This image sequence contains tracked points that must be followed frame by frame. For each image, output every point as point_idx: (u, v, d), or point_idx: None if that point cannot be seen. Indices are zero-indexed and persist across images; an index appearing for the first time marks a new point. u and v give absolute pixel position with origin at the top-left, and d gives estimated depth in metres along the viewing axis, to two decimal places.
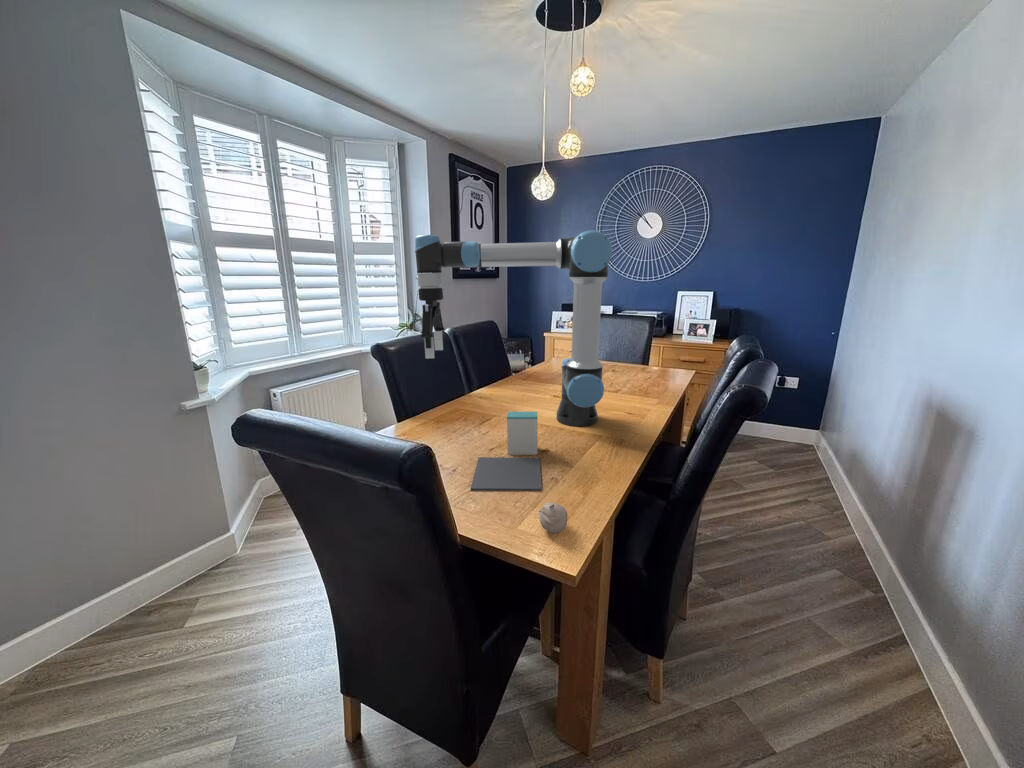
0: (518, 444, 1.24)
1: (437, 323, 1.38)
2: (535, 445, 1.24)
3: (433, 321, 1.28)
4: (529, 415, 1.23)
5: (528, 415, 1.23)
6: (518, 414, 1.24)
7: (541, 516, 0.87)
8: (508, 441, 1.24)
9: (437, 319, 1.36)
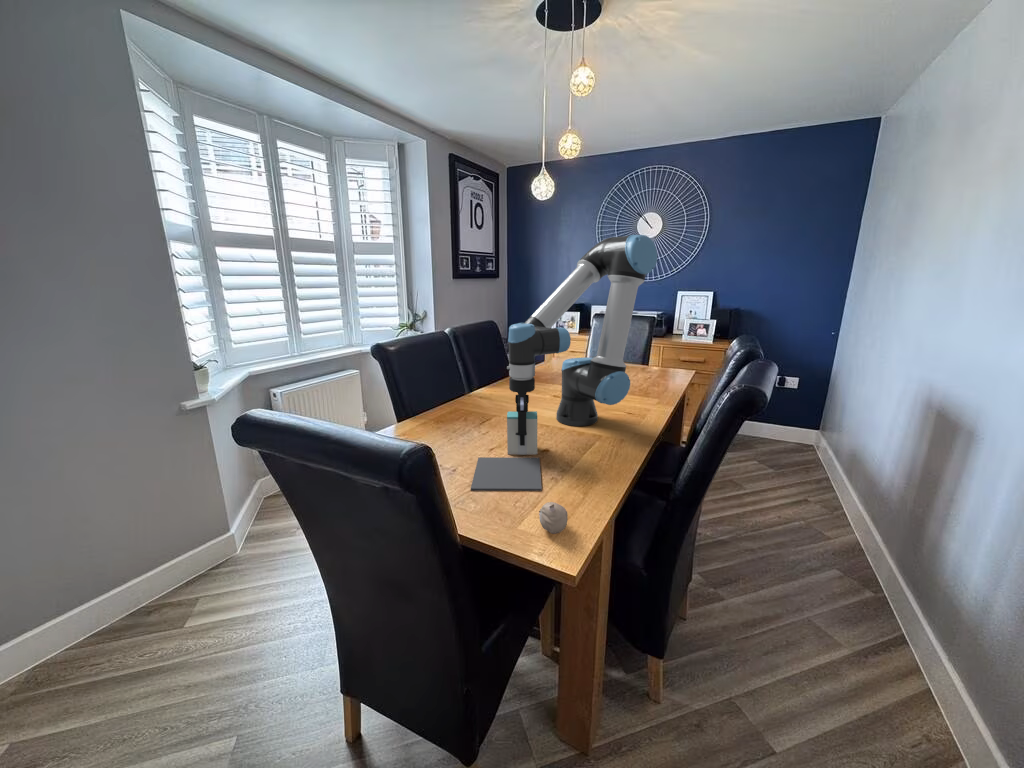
0: None
1: None
2: (535, 445, 1.24)
3: None
4: (529, 415, 1.23)
5: (528, 415, 1.23)
6: None
7: (541, 516, 0.87)
8: (508, 441, 1.24)
9: None
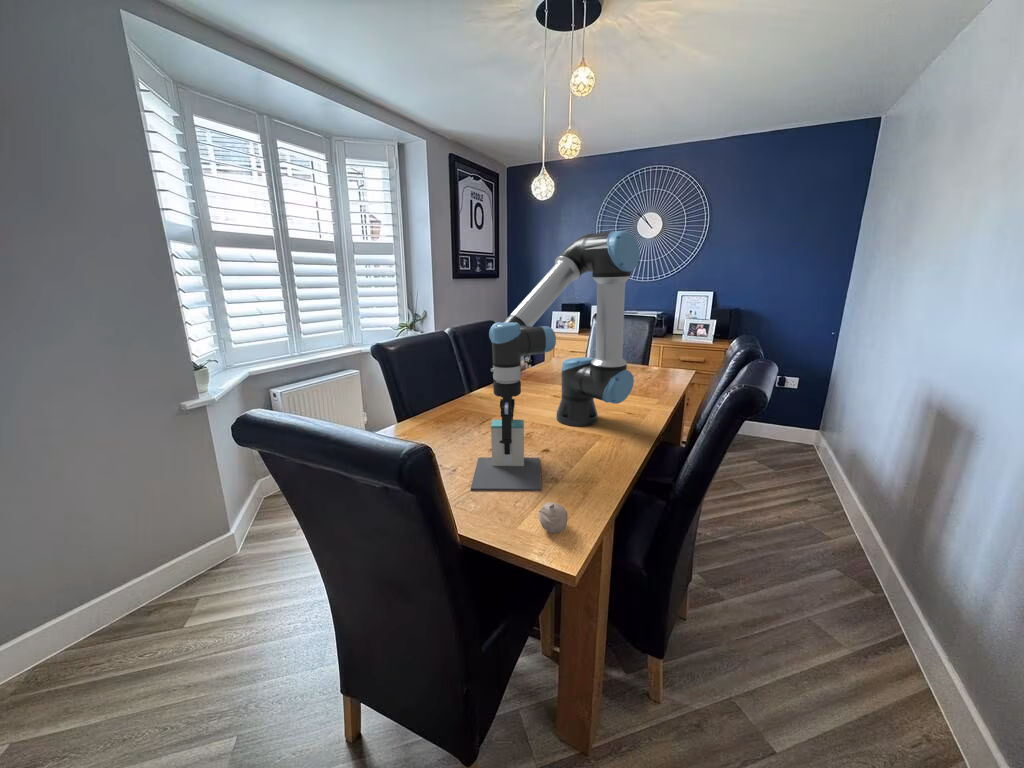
0: None
1: None
2: (521, 456, 1.16)
3: (511, 421, 1.12)
4: (515, 424, 1.15)
5: (514, 424, 1.15)
6: None
7: (541, 516, 0.87)
8: (492, 452, 1.15)
9: None
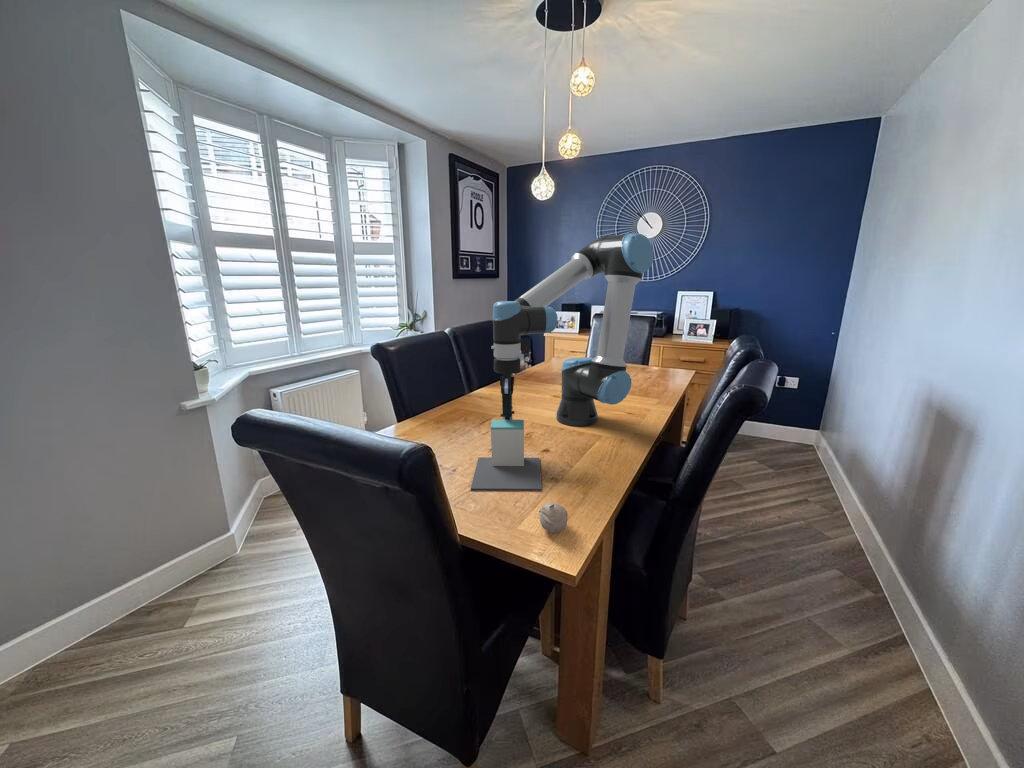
0: (503, 456, 1.15)
1: None
2: (521, 456, 1.15)
3: None
4: (515, 425, 1.14)
5: (514, 425, 1.14)
6: (503, 423, 1.15)
7: (541, 516, 0.87)
8: (492, 452, 1.15)
9: None
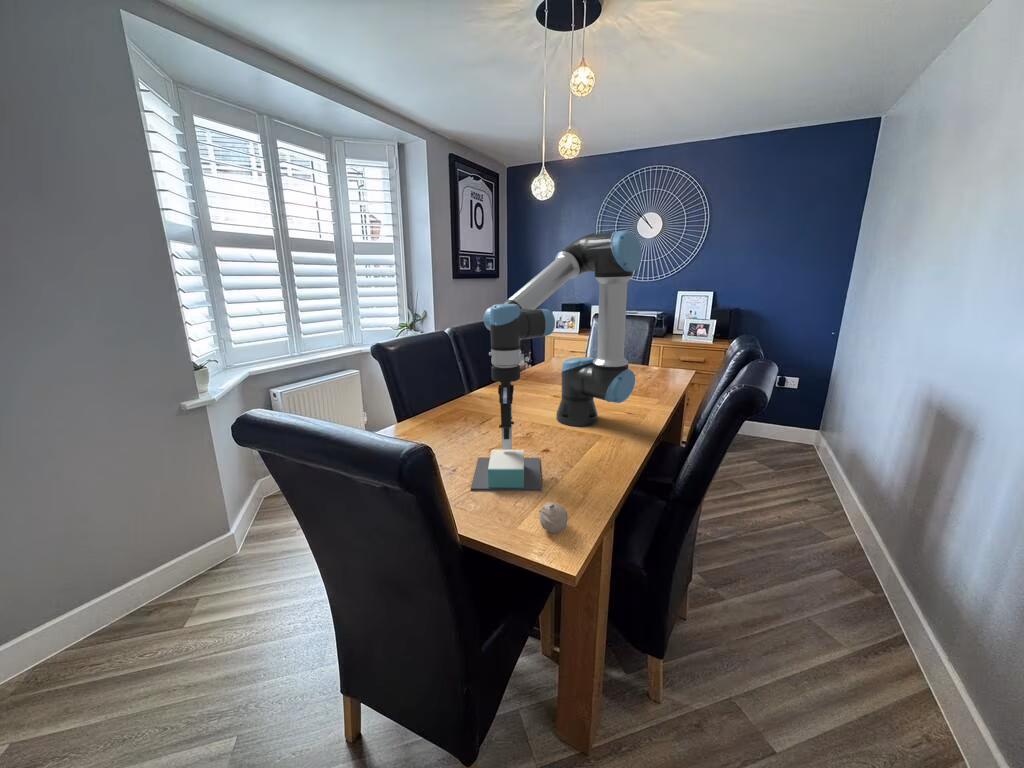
0: None
1: None
2: None
3: (510, 406, 1.09)
4: (514, 482, 1.04)
5: (513, 482, 1.04)
6: (501, 479, 1.04)
7: (541, 516, 0.87)
8: None
9: None
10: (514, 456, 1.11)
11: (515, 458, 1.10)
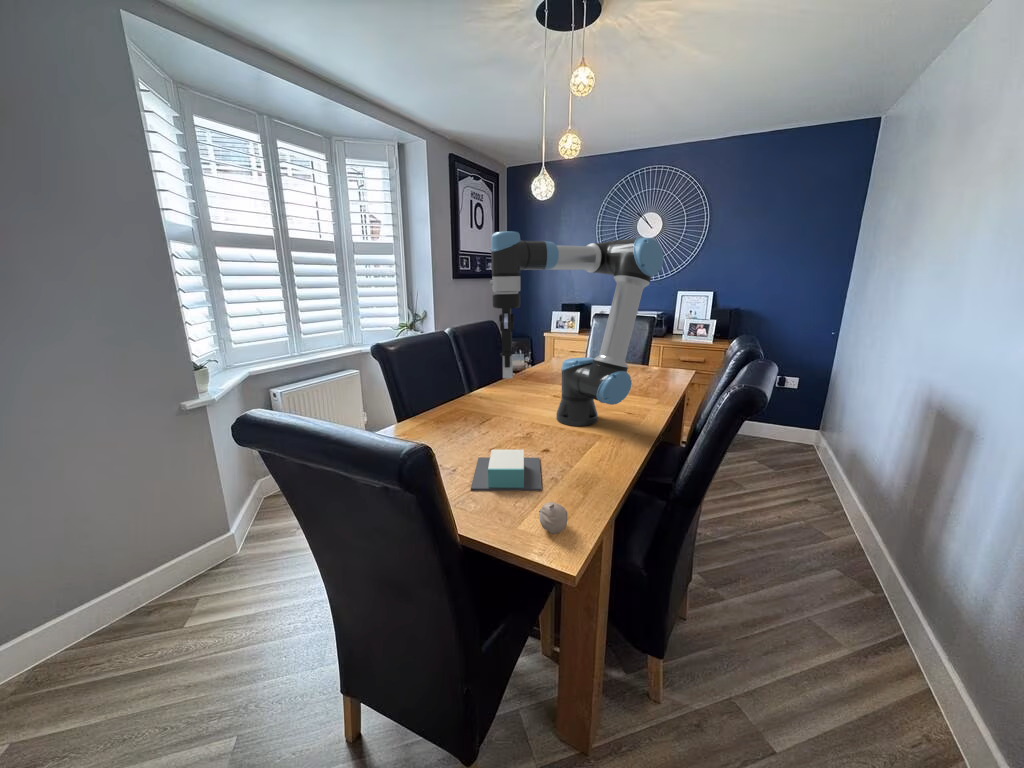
0: None
1: None
2: None
3: None
4: (514, 482, 1.04)
5: (513, 482, 1.04)
6: (501, 479, 1.04)
7: (541, 516, 0.87)
8: None
9: None
10: (514, 456, 1.11)
11: (515, 458, 1.10)
